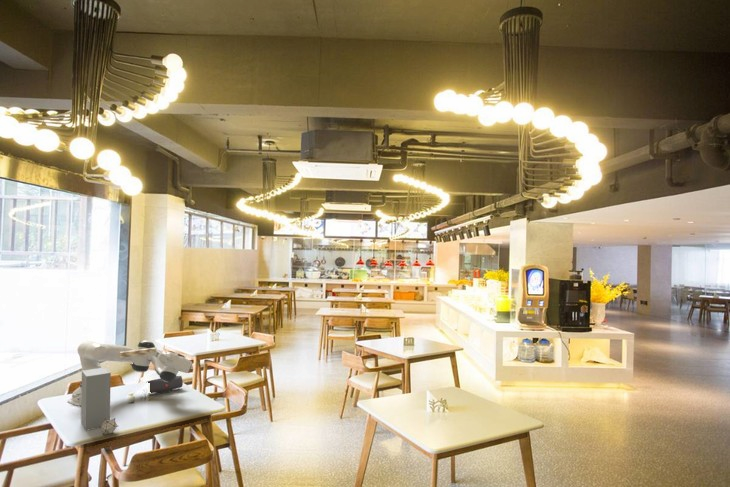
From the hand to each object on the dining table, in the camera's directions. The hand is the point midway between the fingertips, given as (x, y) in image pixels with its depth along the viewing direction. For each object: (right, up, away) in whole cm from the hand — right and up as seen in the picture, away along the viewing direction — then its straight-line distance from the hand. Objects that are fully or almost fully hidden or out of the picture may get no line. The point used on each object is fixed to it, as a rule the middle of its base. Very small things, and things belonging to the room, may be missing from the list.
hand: (148, 350), depth 281 cm
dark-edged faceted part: (-6, -38, -33) cm, 51 cm away
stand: (-22, -38, -19) cm, 48 cm away
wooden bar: (-4, -2, -4) cm, 6 cm away
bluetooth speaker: (-8, -40, +41) cm, 58 cm away
